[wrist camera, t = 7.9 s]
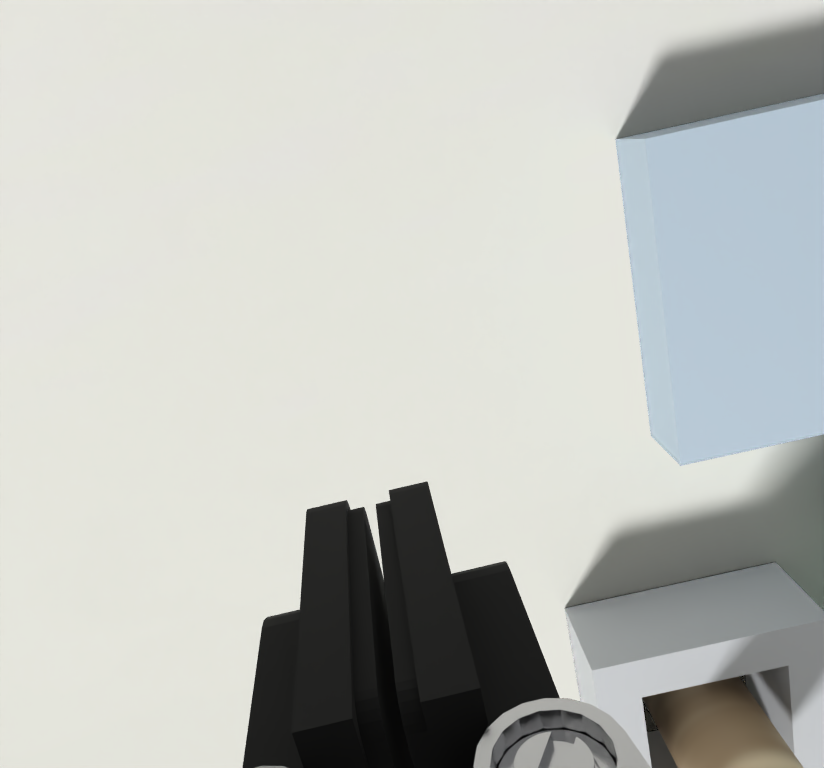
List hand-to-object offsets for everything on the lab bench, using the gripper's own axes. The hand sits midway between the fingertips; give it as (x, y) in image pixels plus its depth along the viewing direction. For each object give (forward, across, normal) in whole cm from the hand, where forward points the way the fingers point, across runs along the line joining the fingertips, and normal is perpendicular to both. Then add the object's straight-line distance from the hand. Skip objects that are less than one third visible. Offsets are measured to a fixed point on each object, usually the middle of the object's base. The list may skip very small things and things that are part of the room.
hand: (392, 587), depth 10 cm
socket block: (+14, -9, +16) cm, 23 cm away
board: (+15, -13, +1) cm, 20 cm away
